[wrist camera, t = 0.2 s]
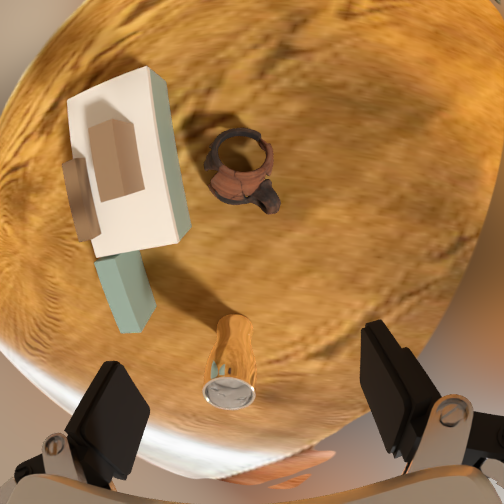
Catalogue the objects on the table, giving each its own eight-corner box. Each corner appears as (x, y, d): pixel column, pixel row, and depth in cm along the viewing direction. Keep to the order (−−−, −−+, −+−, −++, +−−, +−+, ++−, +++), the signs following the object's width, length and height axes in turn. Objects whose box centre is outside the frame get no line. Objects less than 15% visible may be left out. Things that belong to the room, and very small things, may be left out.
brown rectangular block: (72, 162, 28) (61, 163, 26) (85, 157, 28) (74, 158, 26) (88, 236, 31) (79, 242, 29) (101, 233, 31) (92, 239, 29)
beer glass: (248, 348, 46) (247, 415, 32) (209, 338, 46) (196, 403, 31) (261, 317, 44) (265, 383, 30) (219, 305, 43) (207, 369, 29)
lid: (75, 101, 27) (41, 94, 20) (152, 70, 27) (128, 51, 19) (103, 252, 34) (74, 273, 27) (182, 237, 34) (164, 259, 26)
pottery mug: (191, 181, 38) (186, 151, 30) (238, 143, 40) (243, 109, 32) (252, 239, 37) (263, 221, 29) (297, 195, 39) (316, 169, 31)
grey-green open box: (91, 108, 33) (63, 102, 25) (166, 81, 32) (147, 66, 25) (138, 307, 44) (121, 333, 36) (209, 300, 43) (201, 327, 36)
